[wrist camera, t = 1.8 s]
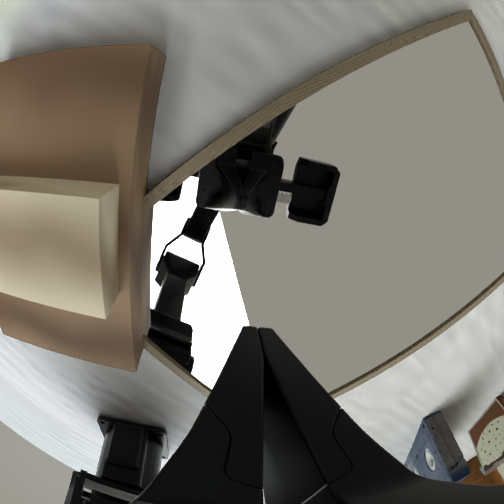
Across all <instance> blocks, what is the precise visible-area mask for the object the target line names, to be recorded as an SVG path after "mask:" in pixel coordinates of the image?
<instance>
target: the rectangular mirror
mask: <svg viewBox="0 0 504 504" xmlns="http://www.w3.org/2000/svg"><path fill="white" fill-rule="evenodd" d="M142 215H143V230H142V270H141V286H142V326H143V337H142V340H143V347H144V348H145V349H146V350H147V351H148V352H150V353H151V354H152V355H153V356H154V357H156V358H157V359H158V360H159V361H160V362H162V363H163V364H164V365H165V366H167V367H168V368H169V369H170V370H172V371H173V372H174V373H176V374H177V375H178V376H179V377H181V378H182V379H183V380H185V381H186V382H187V383H189V384H190V385H191V386H193V387H194V388H195V389H197V390H198V391H200V392H201V393H202V394H204V395H205V396H207V397H208V396H209V394H210V392H211V390H212V388H213V386H214V384H215V382H216V380H217V378H218V376H219V374H220V372H221V370H222V368H223V366H224V364H225V362H226V359H227V357H228V355H229V353H230V351H231V349H232V347H233V345H234V343H235V341H236V339H237V337H238V335H239V333H240V330H241V328H242V327H243V326H255V327H257V328H259V327H265V328H272V329H273V330H274V331H275V332H276V333H277V335H278V336H279V337H280V338H281V339H282V341H283V342H284V343H285V344H286V345H287V346H288V348H289V349H290V350H291V351H292V352H293V353H294V354H295V356H296V357H297V358H298V359H299V360H300V361H301V363H302V364H303V365H304V366H305V367H306V368H307V369H308V371H309V372H310V373H311V374H312V375H313V376H314V377H315V379H316V380H317V381H318V382H319V383H320V384H321V385H322V386H323V388H324V389H325V390H326V391H327V392H328V393H329V394H330V395H331V397H332V398H333V399H334V398H336V397H338V396H340V395H342V394H344V393H346V392H348V391H350V390H352V389H354V388H355V387H357V386H359V385H361V384H363V383H365V382H366V381H368V380H370V379H372V378H373V377H375V376H377V375H379V374H380V373H382V372H384V371H385V370H387V369H389V368H390V367H392V366H394V365H395V364H397V363H399V362H400V361H402V360H403V359H405V358H406V357H408V356H410V355H411V354H413V353H414V352H416V351H417V350H419V349H420V348H422V347H423V346H425V345H426V344H427V343H429V342H430V341H432V340H433V339H435V338H436V337H437V336H439V335H440V334H441V333H443V332H444V331H446V330H447V329H448V328H450V327H451V326H452V325H453V324H455V323H456V322H457V321H459V320H460V319H461V318H462V317H464V316H465V315H466V314H467V313H469V312H470V311H471V310H472V309H474V308H475V307H476V306H477V305H478V304H480V303H481V302H482V301H483V300H484V299H485V298H486V297H488V296H489V295H490V294H491V293H492V292H493V291H494V290H495V289H497V288H498V287H499V286H500V285H501V284H502V283H503V282H504V79H503V76H502V74H501V71H500V69H499V66H498V64H497V61H496V59H495V57H494V54H493V52H492V50H491V47H490V45H489V43H488V41H487V39H486V37H485V35H484V33H483V31H482V29H481V27H480V25H479V23H478V21H477V19H476V18H475V16H474V14H473V12H472V10H468V11H464V12H461V13H457V14H454V15H451V16H448V17H445V18H442V19H440V20H437V21H434V22H431V23H428V24H426V25H423V26H421V27H418V28H415V29H413V30H410V31H408V32H405V33H403V34H401V35H398V36H396V37H394V38H391V39H389V40H387V41H385V42H382V43H380V44H378V45H376V46H374V47H371V48H369V49H367V50H365V51H363V52H361V53H359V54H357V55H355V56H353V57H351V58H349V59H347V60H345V61H343V62H341V63H339V64H337V65H335V66H333V67H332V68H330V69H328V70H326V71H324V72H322V73H321V74H319V75H317V76H315V77H313V78H312V79H310V80H308V81H306V82H305V83H303V84H301V85H299V86H298V87H296V88H294V89H293V90H291V91H289V92H288V93H286V94H284V95H283V96H281V97H279V98H278V99H276V100H275V101H273V102H271V103H270V104H268V105H267V106H265V107H264V108H262V109H260V110H259V111H257V112H256V113H254V114H253V115H251V116H250V117H248V118H247V119H245V120H244V121H242V122H241V123H239V124H238V125H236V126H235V127H234V128H232V129H231V130H229V131H228V132H226V133H225V134H224V135H222V136H221V137H219V138H218V139H217V140H215V141H214V142H212V143H211V144H210V145H208V146H207V147H206V148H204V149H203V150H202V151H200V152H199V153H198V154H196V155H195V156H194V157H192V158H191V159H190V160H188V161H187V162H186V163H185V164H183V165H182V166H181V167H179V168H178V169H177V170H176V171H174V172H173V173H172V174H171V175H169V176H168V177H167V178H166V179H164V180H163V181H162V182H161V183H160V184H158V185H157V186H156V187H155V188H153V189H152V190H151V191H150V192H149V193H148V194H146V195H145V196H144V197H143V212H142Z"/></svg>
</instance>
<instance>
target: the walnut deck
mask: <svg viewBox="0 0 504 504" xmlns="http://www.w3.org/2000/svg"><path fill="white" fill-rule="evenodd" d="M165 59H166V56H165V55H164V54H163V53H161V52H160V51H159V50H158V49H157V48H155V47H154V46H153V45H149V44H133V45H106V46H92V47H81V48H72V49H65V50H58V51H51V52H45V53H40V54H34V55H29V56H25V57H20V58H16V59H12V60H8V61H4V62H0V176H20V177H37V178H53V179H66V180H78V181H90V182H101V183H111V184H119V206H118V267H119V289H120V293H119V295H118V297H117V299H116V300H115V302H114V304H113V306H112V308H111V310H110V312H109V314H108V316H107V318H106V319H101V318H97V317H92V316H88V315H83V314H79V313H75V312H71V311H66V310H62V309H58V308H54V307H51V306H47V305H43V304H39V303H36V302H32V301H29V300H25V299H22V298H18V297H15V296H12V295H8V294H5V293H2V292H0V327H1V330H2V332H3V334H5V335H7V336H10V337H13V338H15V339H18V340H21V341H23V342H26V343H29V344H32V345H35V346H38V347H41V348H44V349H47V350H50V351H54V352H57V353H60V354H64V355H67V356H71V357H74V358H78V359H82V360H85V361H89V362H93V363H97V364H101V365H106V366H110V367H114V368H119V369H124V370H128V371H133V372H136V371H137V367H138V364H139V360H140V357H141V354H142V350H143V340H142V337H143V326H142V286H141V270H142V230H143V215H142V212H143V197H144V196H145V195H146V191H147V180H148V169H149V160H150V151H151V143H152V135H153V128H154V121H155V114H156V108H157V101H158V96H159V90H160V84H161V79H162V74H163V69H164V64H165Z"/></svg>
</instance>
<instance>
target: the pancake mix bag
mask: <svg viewBox="0 0 504 504" xmlns="http://www.w3.org/2000/svg"><path fill="white" fill-rule="evenodd" d="M467 464H468V466H469V469H470V472H471V474H470V475H468V476H467V477H466V478H465V479H464V480H463V481H461V482H460V483H465V484H476V485H501V484H504V479H503V477H502V476H501V474H500V473H499V472H498V470H497V468H496V469H494V470H493V471H491V472H490V473H489V474H487V475H485V474H484V473H482V471H481V470H480V468H481V467H482V466H481V464H480V461H479V458H478V456H477V455H476V456H475V457H473V458H472V459H471V460H469V461H468V462H467Z"/></svg>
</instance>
